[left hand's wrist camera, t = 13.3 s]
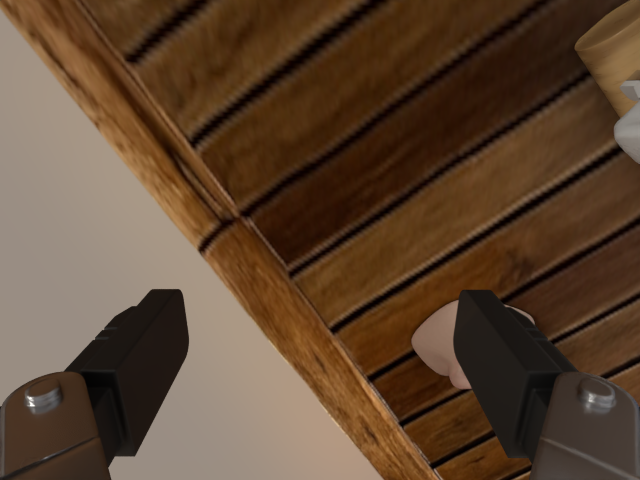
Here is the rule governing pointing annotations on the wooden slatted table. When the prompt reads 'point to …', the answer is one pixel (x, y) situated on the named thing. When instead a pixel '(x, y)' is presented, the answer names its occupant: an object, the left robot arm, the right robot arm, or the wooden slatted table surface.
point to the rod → (613, 52)
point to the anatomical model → (443, 344)
